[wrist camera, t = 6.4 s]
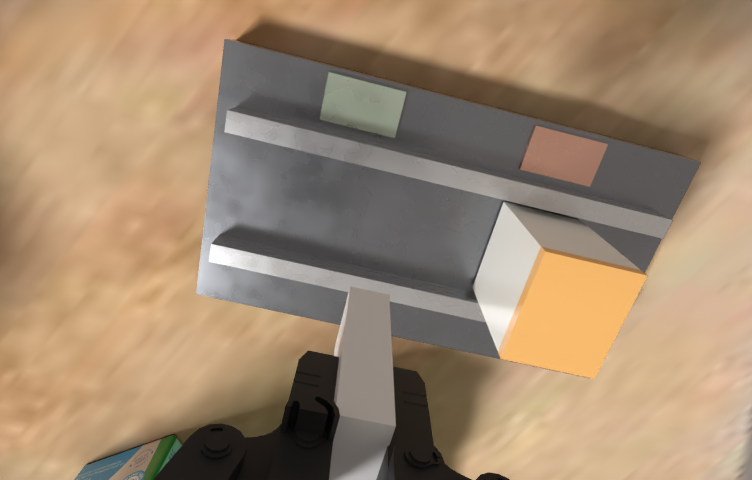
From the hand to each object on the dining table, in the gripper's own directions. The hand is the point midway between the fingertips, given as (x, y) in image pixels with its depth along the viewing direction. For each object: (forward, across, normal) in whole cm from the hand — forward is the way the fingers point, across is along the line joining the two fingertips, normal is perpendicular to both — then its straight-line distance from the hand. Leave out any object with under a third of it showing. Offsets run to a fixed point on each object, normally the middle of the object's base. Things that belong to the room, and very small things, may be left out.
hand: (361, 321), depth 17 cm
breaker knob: (+12, +10, 0) cm, 15 cm away
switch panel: (+14, +4, 0) cm, 15 cm away
